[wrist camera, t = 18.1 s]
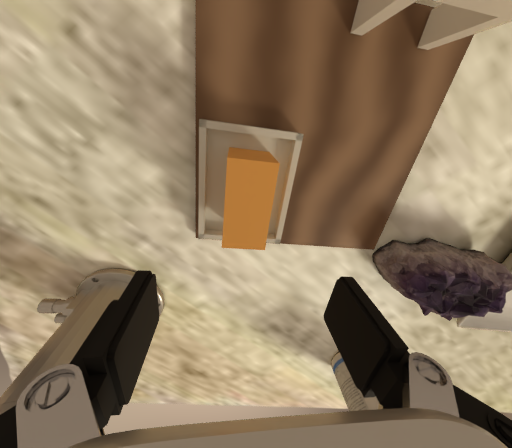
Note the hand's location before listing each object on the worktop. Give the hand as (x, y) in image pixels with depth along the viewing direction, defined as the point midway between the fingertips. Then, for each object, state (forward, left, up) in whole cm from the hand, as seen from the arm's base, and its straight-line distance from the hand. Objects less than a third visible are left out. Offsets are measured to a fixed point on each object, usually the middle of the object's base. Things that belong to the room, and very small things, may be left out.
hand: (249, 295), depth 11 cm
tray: (0, +1, -17) cm, 17 cm away
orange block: (0, 0, -17) cm, 17 cm away
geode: (+32, -11, -19) cm, 39 cm away
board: (+8, +6, -18) cm, 21 cm away
